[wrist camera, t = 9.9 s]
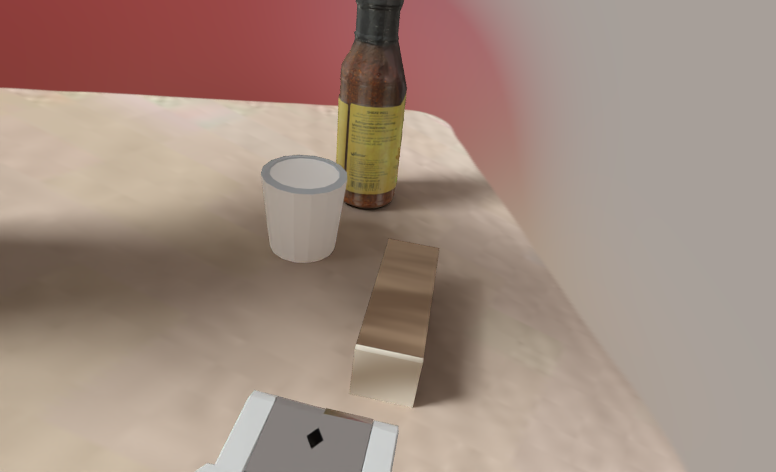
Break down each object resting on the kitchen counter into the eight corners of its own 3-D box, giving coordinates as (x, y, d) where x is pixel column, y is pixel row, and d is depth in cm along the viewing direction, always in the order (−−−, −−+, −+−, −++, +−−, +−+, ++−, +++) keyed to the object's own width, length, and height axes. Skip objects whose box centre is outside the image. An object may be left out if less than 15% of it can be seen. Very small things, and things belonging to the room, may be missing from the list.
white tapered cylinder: (315, 215, 48) (318, 148, 44) (357, 252, 44) (365, 181, 40) (248, 234, 44) (245, 162, 40) (287, 277, 40) (288, 201, 36)
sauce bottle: (406, 200, 52) (439, -7, 42) (363, 218, 48) (388, -6, 37) (362, 175, 56) (383, -22, 45) (319, 191, 52) (330, -22, 41)
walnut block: (422, 363, 29) (439, 248, 39) (354, 348, 29) (388, 238, 39) (412, 408, 31) (430, 288, 41) (349, 394, 31) (382, 278, 41)
